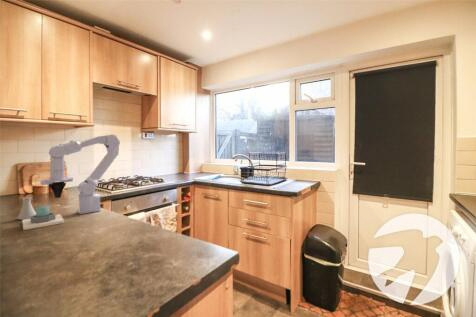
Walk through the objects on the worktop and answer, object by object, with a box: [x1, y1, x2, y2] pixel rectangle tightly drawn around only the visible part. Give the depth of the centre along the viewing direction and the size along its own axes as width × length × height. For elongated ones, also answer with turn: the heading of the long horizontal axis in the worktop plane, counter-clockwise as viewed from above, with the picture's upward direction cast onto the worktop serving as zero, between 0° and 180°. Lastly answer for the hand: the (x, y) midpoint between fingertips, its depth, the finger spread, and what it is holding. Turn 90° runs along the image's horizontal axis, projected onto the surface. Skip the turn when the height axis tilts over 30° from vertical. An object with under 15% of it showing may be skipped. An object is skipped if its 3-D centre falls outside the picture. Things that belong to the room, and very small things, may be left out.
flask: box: [16, 196, 36, 221], centre depth 118 cm, size 7×7×10 cm
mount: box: [22, 212, 65, 231], centre depth 111 cm, size 14×14×3 cm
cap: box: [35, 205, 51, 217], centre depth 111 cm, size 5×5×6 cm
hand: (57, 197), depth 121 cm, fingers closed
